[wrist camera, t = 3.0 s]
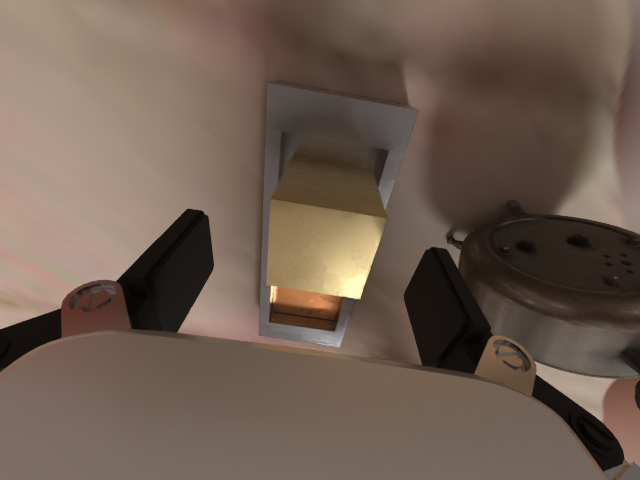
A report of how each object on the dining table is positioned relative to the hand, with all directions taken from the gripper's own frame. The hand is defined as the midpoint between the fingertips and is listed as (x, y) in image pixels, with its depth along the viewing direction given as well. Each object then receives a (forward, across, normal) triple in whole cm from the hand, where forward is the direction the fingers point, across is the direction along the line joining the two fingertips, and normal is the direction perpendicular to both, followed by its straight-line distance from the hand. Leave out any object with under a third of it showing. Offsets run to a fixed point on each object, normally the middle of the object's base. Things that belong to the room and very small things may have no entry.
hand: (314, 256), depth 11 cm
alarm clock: (+11, -16, +2) cm, 19 cm away
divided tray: (+11, 0, +7) cm, 13 cm away
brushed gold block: (+10, 0, +1) cm, 10 cm away
